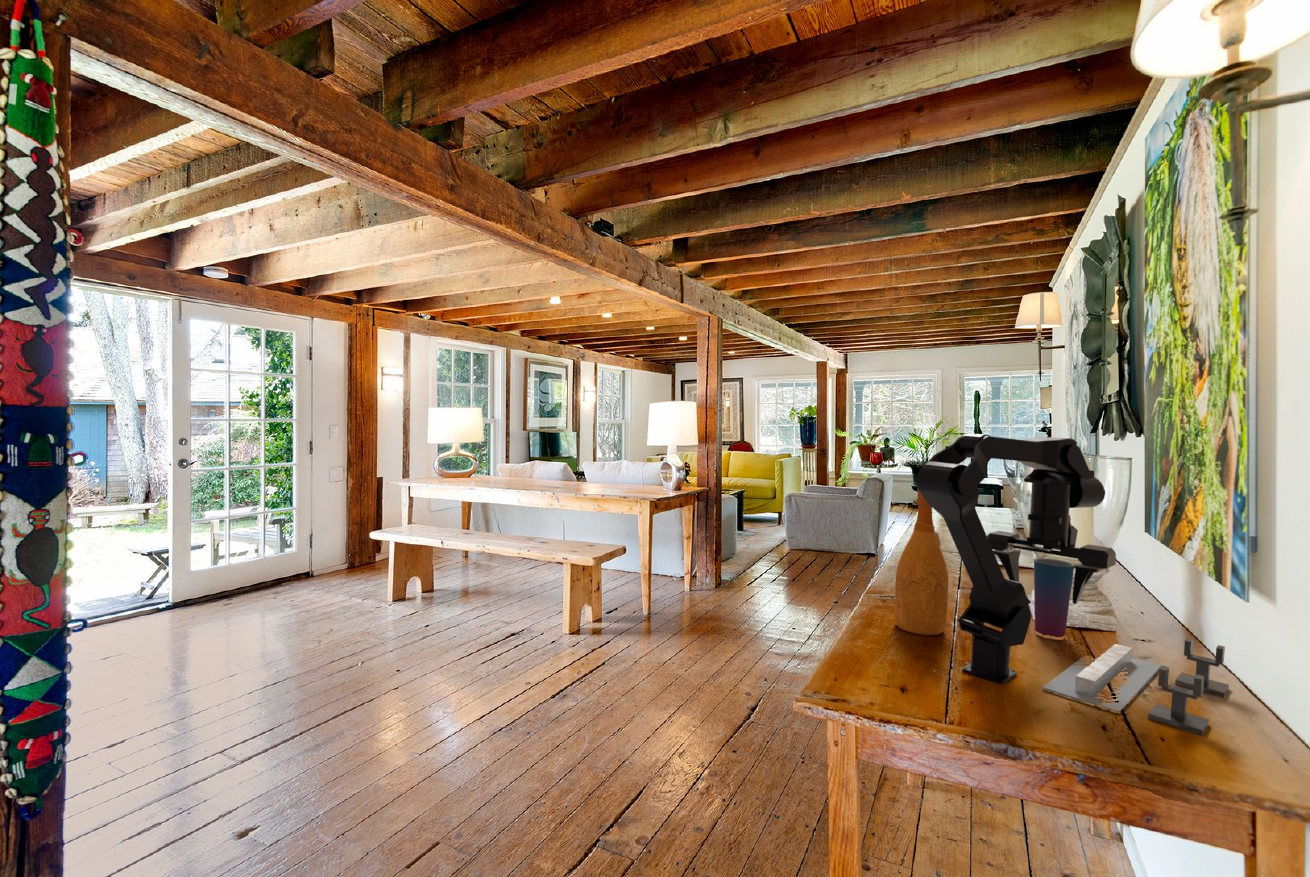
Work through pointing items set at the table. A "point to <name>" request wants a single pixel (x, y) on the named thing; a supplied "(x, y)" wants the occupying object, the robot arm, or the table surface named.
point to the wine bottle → (922, 578)
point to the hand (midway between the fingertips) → (1044, 597)
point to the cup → (1052, 595)
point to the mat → (1066, 687)
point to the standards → (1189, 691)
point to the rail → (1103, 670)
